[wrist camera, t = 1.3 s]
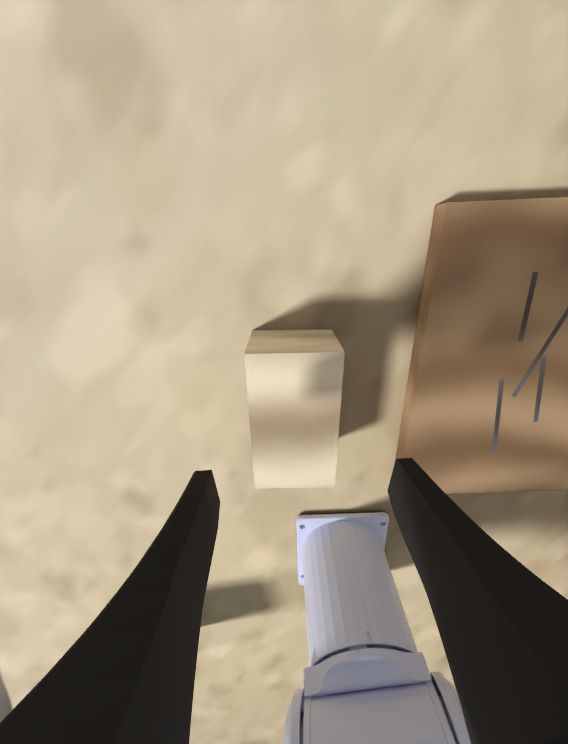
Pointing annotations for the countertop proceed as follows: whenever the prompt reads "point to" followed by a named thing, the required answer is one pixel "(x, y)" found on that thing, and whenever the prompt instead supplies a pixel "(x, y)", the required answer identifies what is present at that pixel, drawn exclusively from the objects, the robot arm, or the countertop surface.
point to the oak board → (492, 349)
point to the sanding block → (294, 406)
